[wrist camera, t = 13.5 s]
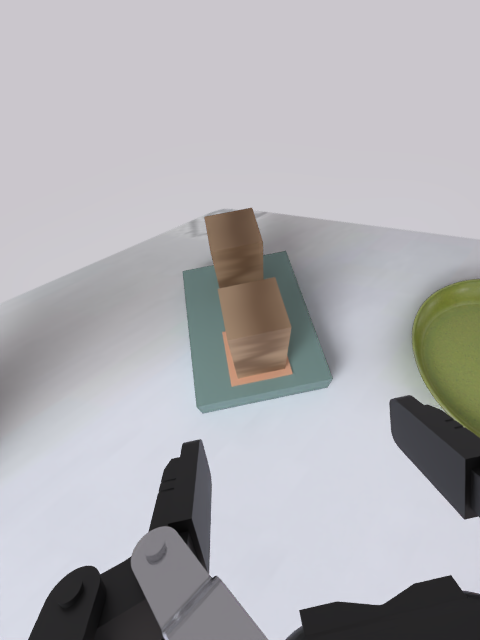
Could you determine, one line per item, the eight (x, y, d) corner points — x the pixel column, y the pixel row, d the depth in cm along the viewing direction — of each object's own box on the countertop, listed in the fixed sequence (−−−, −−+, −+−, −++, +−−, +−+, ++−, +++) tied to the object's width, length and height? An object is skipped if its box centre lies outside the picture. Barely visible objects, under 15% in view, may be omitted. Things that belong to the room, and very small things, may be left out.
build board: (202, 413, 31) (196, 406, 28) (188, 285, 40) (182, 270, 37) (327, 387, 31) (333, 378, 28) (284, 265, 40) (285, 249, 38)
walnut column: (223, 304, 34) (210, 251, 26) (217, 273, 37) (204, 216, 29) (263, 296, 34) (262, 241, 27) (255, 265, 37) (252, 207, 29)
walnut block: (237, 378, 29) (227, 340, 21) (229, 336, 32) (217, 288, 24) (284, 368, 29) (291, 327, 22) (273, 327, 32) (275, 277, 24)
